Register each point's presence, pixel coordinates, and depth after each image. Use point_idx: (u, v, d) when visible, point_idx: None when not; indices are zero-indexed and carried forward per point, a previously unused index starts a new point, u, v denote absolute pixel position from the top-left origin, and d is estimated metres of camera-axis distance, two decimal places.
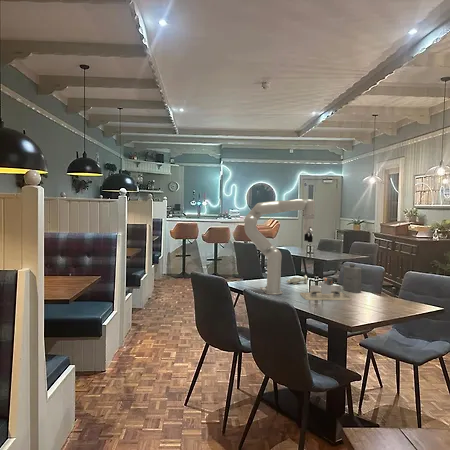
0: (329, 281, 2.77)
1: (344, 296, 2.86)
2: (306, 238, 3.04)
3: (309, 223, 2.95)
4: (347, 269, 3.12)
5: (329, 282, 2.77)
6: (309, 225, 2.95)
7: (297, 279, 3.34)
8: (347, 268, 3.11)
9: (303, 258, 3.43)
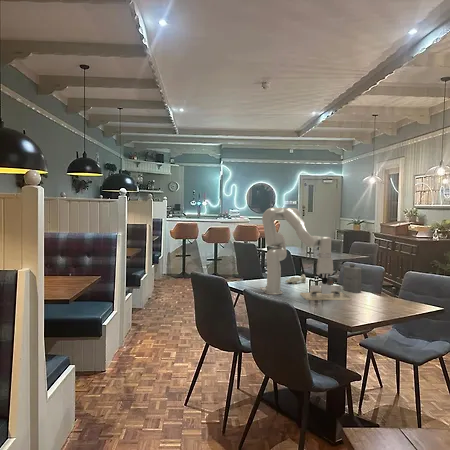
0: (329, 281, 2.77)
1: (344, 296, 2.86)
2: None
3: None
4: (347, 269, 3.12)
5: (330, 282, 2.77)
6: None
7: (297, 279, 3.35)
8: (347, 268, 3.11)
9: (300, 258, 3.45)
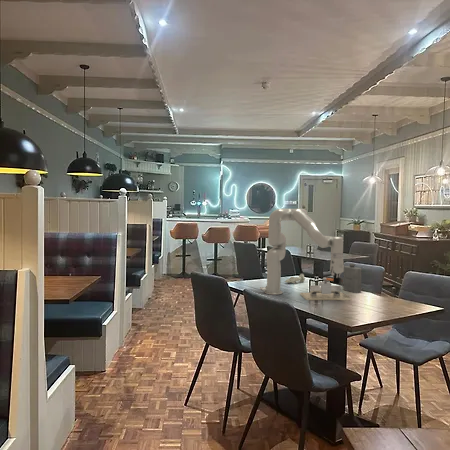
0: (341, 280, 2.80)
1: (344, 296, 2.86)
2: None
3: None
4: (347, 269, 3.12)
5: (341, 281, 2.81)
6: None
7: (296, 278, 3.36)
8: (347, 268, 3.11)
9: None
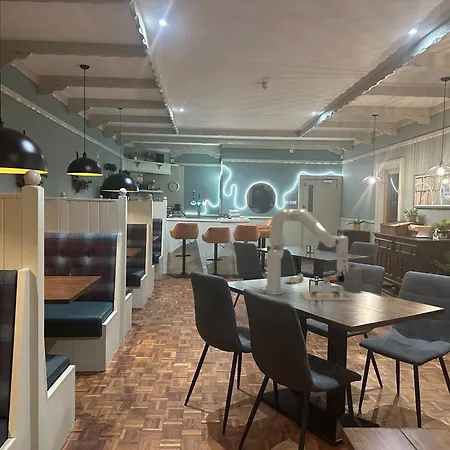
0: None
1: (344, 296, 2.86)
2: None
3: None
4: None
5: None
6: None
7: (296, 278, 3.37)
8: None
9: None
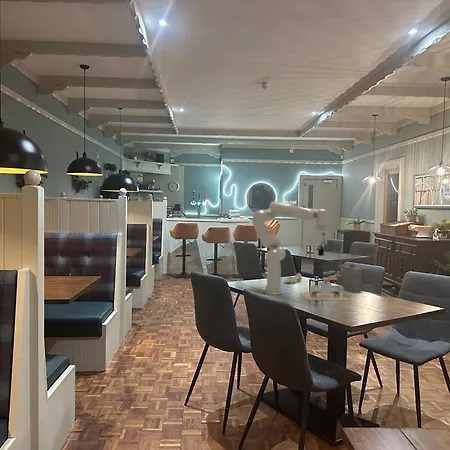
0: None
1: (344, 296, 2.86)
2: None
3: None
4: (347, 269, 3.12)
5: None
6: None
7: (295, 278, 3.38)
8: (347, 268, 3.11)
9: (294, 257, 3.49)
